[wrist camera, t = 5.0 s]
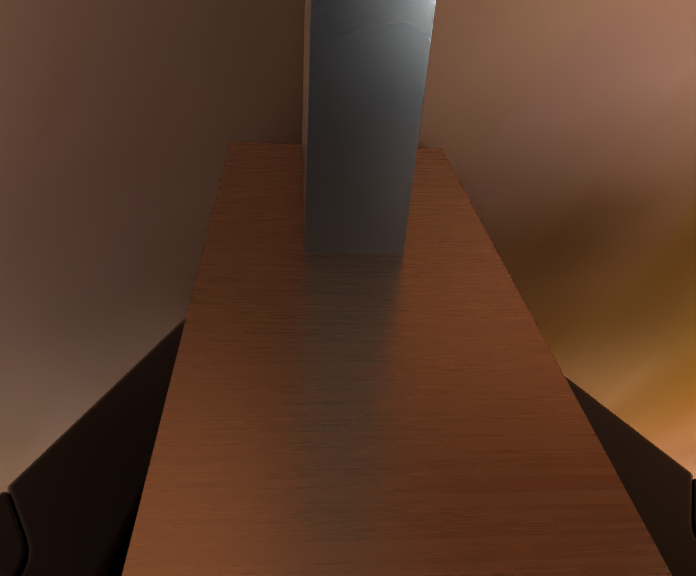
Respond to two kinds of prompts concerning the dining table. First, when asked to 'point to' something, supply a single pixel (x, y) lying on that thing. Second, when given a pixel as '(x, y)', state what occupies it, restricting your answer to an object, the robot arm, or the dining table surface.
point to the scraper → (369, 360)
